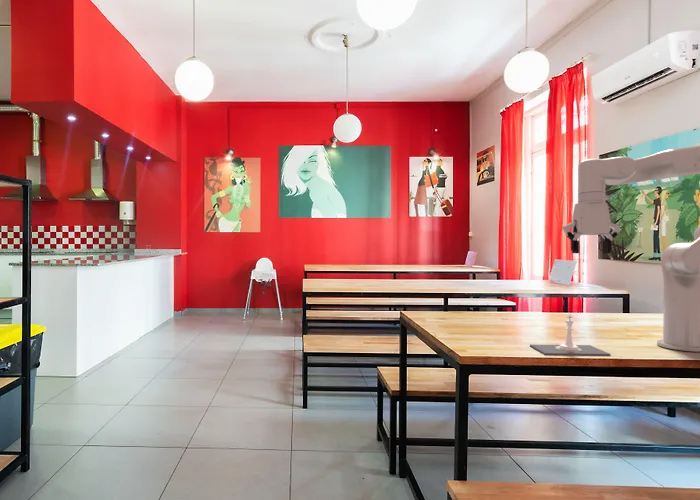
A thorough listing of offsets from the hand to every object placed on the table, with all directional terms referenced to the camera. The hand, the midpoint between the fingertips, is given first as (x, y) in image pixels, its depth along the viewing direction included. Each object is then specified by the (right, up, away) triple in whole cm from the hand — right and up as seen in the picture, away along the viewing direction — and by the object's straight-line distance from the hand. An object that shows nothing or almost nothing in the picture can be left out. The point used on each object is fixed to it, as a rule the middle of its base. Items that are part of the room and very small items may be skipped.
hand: (591, 253), depth 137 cm
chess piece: (-12, -28, -11) cm, 32 cm away
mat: (-13, -28, -11) cm, 33 cm away
